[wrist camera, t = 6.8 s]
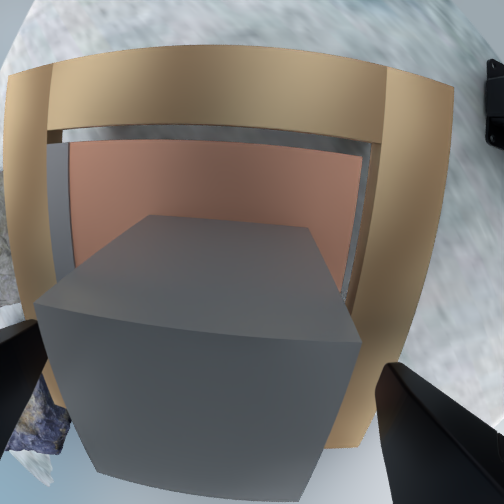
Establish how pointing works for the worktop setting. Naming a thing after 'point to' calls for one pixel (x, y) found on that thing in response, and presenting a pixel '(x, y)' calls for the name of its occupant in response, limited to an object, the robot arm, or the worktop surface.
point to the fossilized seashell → (6, 258)
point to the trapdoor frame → (263, 117)
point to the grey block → (203, 356)
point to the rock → (41, 424)
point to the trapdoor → (196, 191)
